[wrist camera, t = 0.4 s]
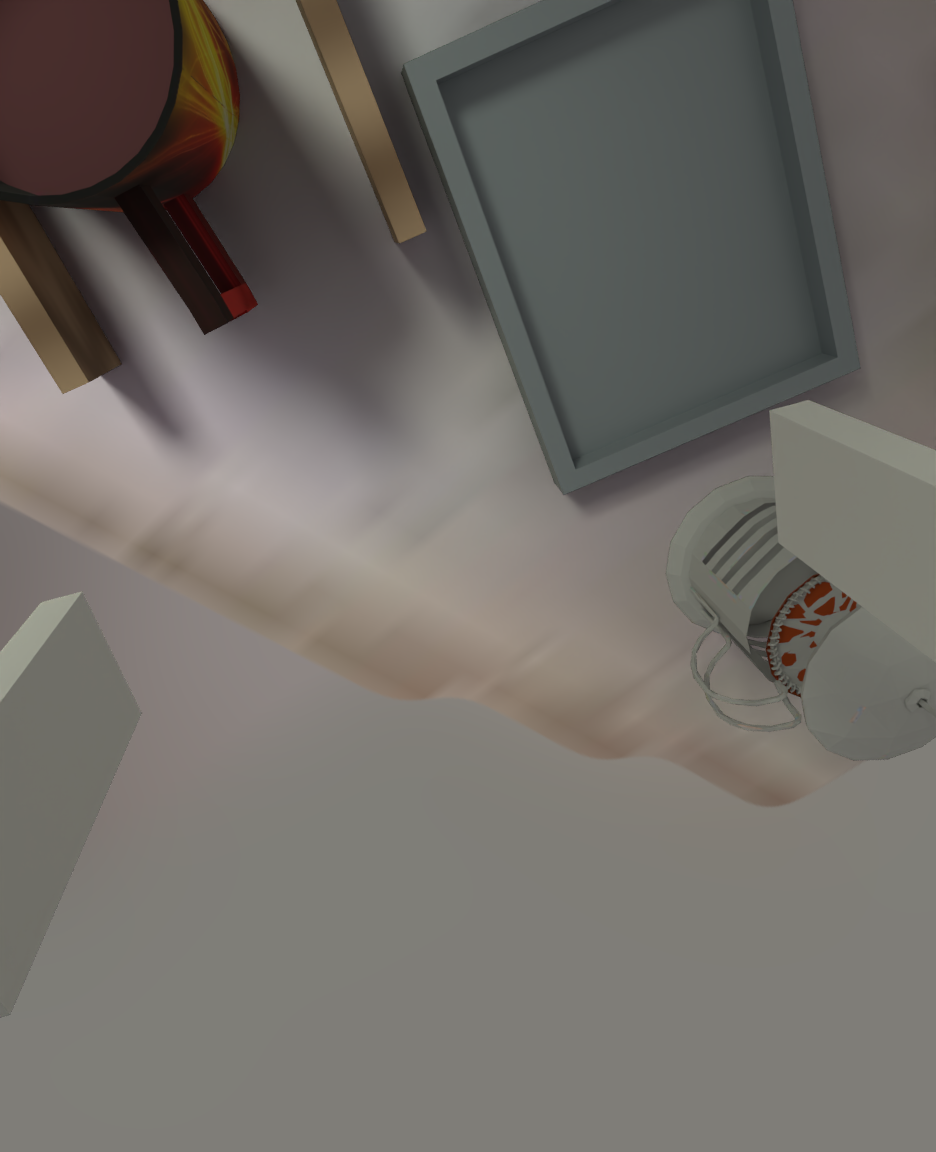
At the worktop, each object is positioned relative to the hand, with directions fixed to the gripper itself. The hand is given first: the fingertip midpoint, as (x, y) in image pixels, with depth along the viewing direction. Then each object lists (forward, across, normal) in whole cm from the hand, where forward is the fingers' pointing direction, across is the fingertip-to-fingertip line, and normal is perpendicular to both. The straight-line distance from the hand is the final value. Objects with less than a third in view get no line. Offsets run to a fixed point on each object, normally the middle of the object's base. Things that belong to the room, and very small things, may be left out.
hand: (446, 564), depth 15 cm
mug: (+27, -7, +12) cm, 30 cm away
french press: (+26, +16, -16) cm, 35 cm away
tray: (+26, +13, +3) cm, 29 cm away
